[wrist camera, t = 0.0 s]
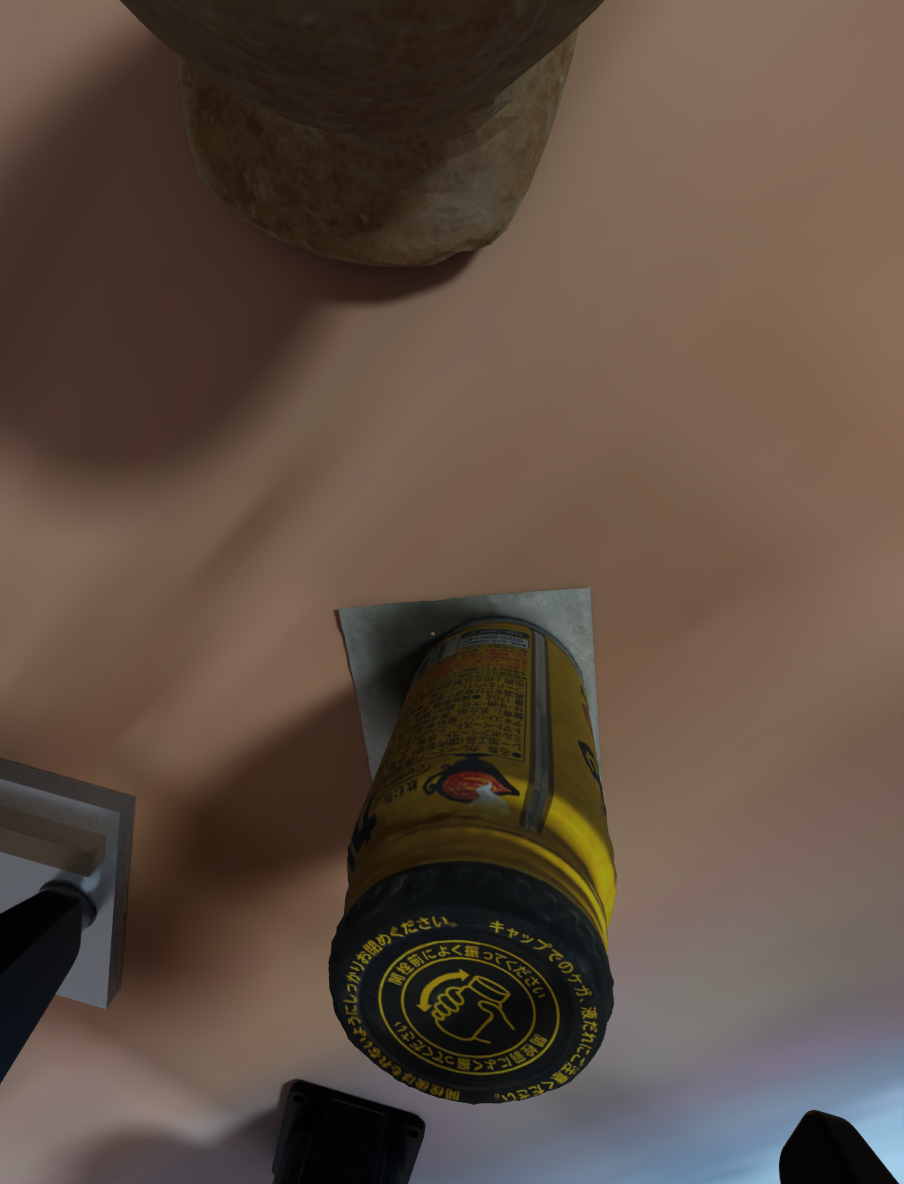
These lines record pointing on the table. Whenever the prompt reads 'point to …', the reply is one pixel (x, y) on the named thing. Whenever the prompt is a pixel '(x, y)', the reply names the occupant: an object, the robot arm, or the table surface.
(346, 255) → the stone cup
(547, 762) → the condiment
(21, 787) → the plate
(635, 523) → the table surface
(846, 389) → the table surface
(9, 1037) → the robot arm
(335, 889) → the table surface
